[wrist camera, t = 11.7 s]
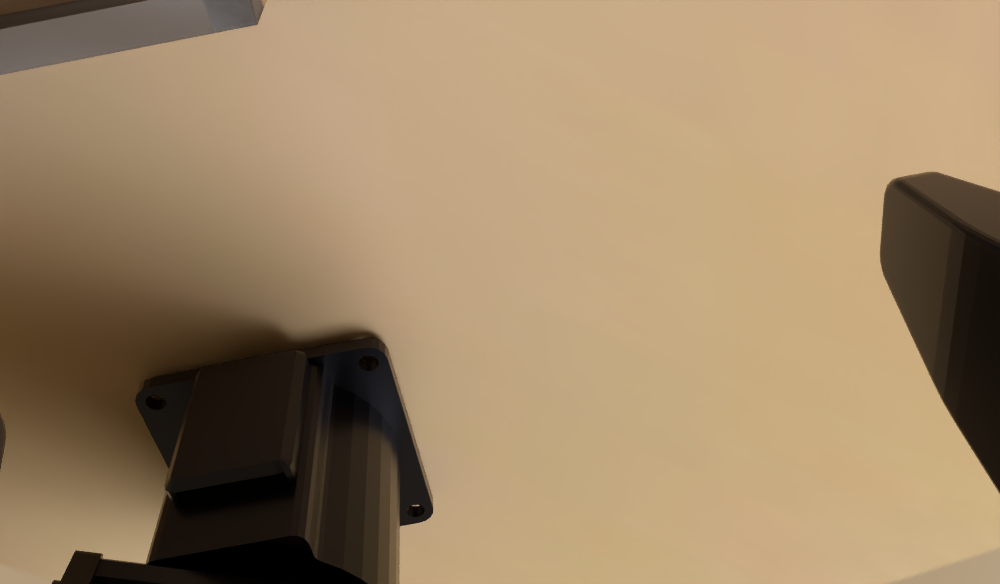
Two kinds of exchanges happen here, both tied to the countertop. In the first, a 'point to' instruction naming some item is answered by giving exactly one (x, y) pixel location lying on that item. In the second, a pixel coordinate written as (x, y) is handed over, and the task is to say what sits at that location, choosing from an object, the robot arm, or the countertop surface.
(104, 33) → the lane
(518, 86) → the countertop surface
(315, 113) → the countertop surface
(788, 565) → the countertop surface
